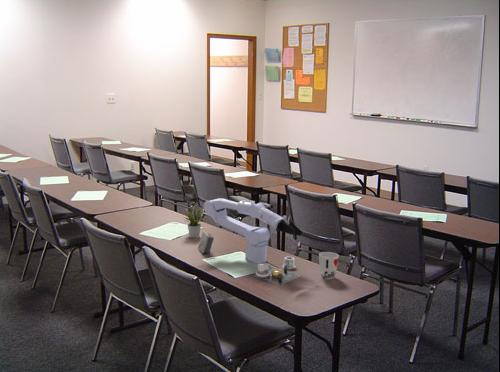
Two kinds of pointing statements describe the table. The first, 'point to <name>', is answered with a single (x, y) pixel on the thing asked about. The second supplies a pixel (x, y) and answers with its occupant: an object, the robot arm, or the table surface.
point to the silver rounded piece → (262, 270)
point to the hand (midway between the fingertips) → (297, 233)
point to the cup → (328, 264)
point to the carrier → (280, 276)
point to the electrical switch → (205, 242)
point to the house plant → (194, 223)
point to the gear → (289, 262)
